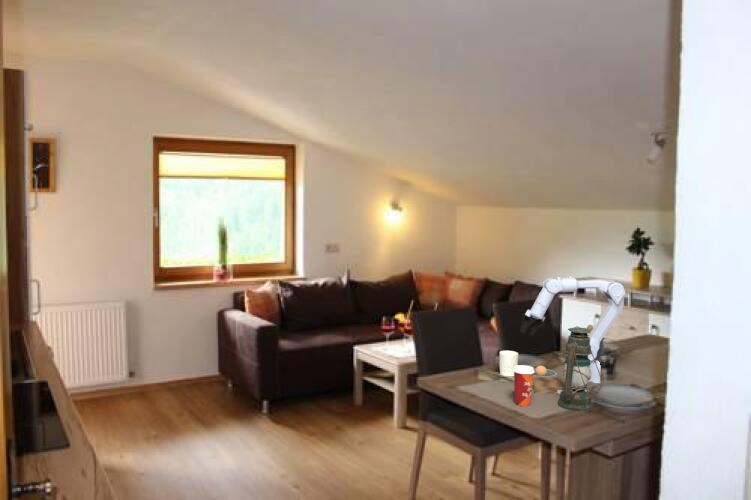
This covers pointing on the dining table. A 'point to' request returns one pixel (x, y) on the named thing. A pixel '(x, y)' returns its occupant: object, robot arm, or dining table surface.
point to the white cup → (508, 362)
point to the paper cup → (523, 384)
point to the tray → (547, 385)
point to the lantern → (577, 372)
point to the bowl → (548, 375)
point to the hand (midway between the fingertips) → (526, 333)
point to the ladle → (562, 390)
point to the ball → (541, 371)
